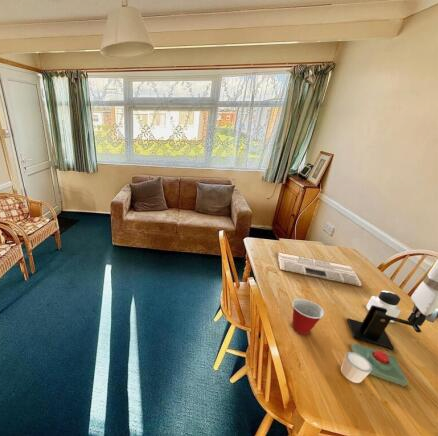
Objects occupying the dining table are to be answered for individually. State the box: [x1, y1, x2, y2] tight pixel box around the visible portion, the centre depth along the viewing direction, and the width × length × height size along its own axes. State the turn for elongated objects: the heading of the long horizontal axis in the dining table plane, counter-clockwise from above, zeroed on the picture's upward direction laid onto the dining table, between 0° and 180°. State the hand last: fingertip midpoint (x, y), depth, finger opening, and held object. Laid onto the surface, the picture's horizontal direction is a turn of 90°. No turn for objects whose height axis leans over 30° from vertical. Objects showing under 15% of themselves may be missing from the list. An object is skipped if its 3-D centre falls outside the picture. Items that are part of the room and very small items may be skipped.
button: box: [373, 350, 389, 364], centre depth 80 cm, size 4×4×2 cm
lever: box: [373, 309, 422, 334], centre depth 87 cm, size 12×6×2 cm, turn 64°
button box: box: [350, 342, 409, 387], centre depth 81 cm, size 12×10×4 cm
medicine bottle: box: [365, 290, 402, 323], centre depth 100 cm, size 7×7×12 cm
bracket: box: [346, 305, 395, 351], centre depth 91 cm, size 12×10×13 cm
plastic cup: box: [291, 298, 325, 335], centre depth 93 cm, size 11×11×12 cm
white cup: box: [340, 351, 372, 384], centre depth 77 cm, size 7×7×7 cm
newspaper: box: [277, 252, 362, 287], centre depth 132 cm, size 37×19×3 cm, turn 68°
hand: (413, 322), depth 85 cm, fingers closed
